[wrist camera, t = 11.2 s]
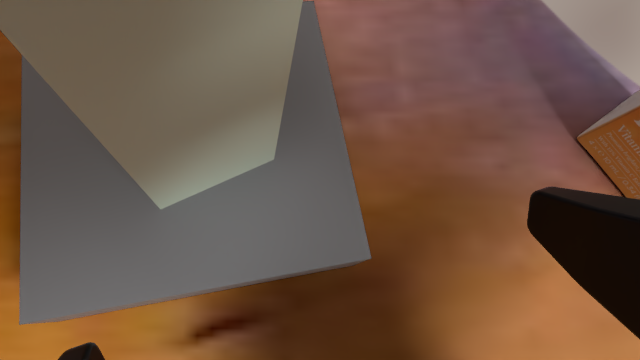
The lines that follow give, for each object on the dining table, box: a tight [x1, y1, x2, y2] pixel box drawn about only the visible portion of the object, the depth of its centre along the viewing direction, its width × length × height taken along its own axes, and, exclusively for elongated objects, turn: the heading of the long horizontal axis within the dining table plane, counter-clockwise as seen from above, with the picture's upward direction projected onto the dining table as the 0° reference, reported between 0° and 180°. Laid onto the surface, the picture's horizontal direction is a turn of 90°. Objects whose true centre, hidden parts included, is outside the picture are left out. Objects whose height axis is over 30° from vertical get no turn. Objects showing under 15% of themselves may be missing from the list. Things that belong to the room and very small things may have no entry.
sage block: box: [0, 0, 303, 210], centre depth 11 cm, size 5×5×13 cm
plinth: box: [19, 1, 371, 325], centre depth 18 cm, size 13×13×3 cm
